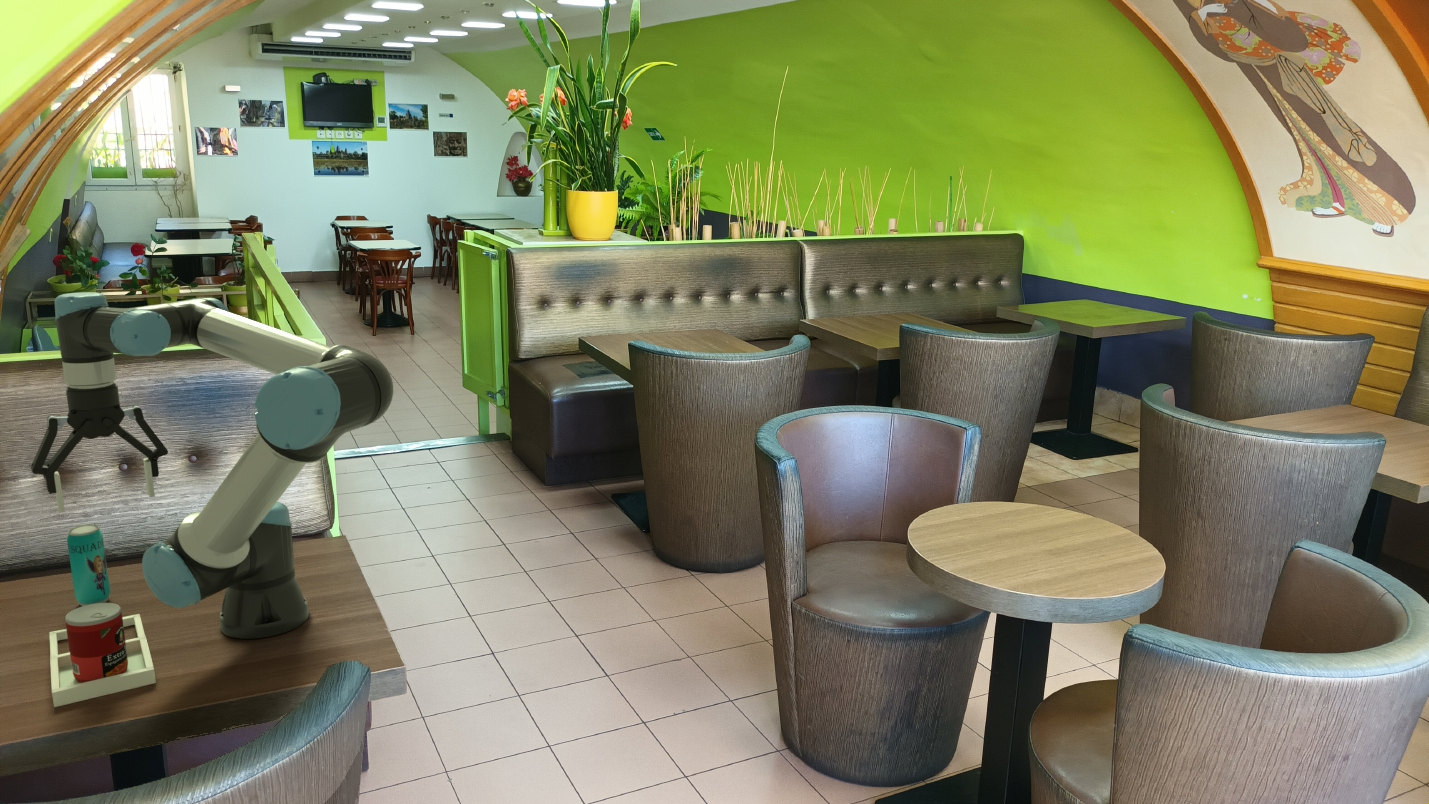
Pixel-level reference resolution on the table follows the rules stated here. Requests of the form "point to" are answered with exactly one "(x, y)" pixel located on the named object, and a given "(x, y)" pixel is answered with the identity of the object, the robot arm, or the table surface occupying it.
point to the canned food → (96, 641)
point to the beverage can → (88, 564)
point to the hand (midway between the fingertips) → (107, 502)
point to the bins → (74, 691)
